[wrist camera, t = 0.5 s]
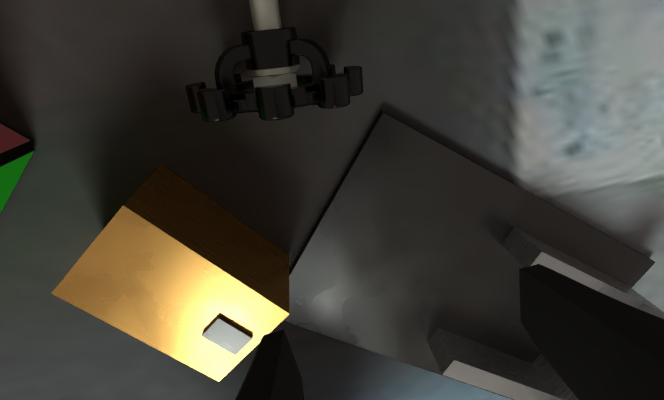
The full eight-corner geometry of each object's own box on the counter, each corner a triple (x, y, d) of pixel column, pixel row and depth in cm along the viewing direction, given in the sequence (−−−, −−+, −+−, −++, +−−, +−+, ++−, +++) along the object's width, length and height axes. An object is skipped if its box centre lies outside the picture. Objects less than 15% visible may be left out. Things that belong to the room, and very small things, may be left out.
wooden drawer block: (288, 253, 21) (289, 317, 17) (232, 310, 23) (218, 385, 18) (162, 162, 19) (120, 207, 14) (105, 233, 20) (48, 296, 15)
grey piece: (520, 398, 28) (572, 479, 23) (267, 310, 23) (261, 392, 18) (649, 258, 24) (747, 319, 19) (381, 111, 19) (416, 141, 14)
